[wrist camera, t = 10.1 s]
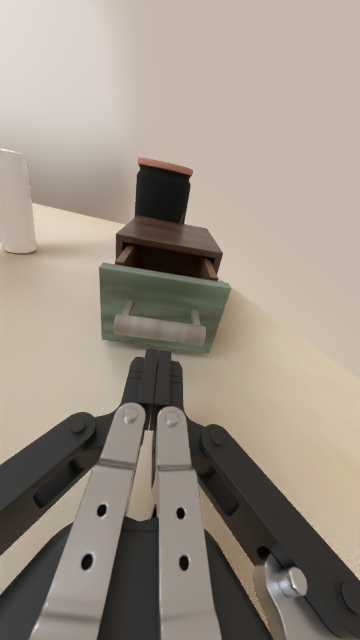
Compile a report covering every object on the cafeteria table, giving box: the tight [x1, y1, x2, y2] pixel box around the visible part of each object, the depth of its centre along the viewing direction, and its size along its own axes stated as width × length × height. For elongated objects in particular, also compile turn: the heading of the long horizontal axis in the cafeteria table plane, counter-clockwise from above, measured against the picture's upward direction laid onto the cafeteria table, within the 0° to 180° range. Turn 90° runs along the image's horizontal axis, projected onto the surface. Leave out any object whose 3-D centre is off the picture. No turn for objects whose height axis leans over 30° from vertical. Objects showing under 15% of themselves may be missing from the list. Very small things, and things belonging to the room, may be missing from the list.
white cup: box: [0, 148, 37, 253], centre depth 35 cm, size 7×7×15 cm
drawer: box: [99, 243, 231, 353], centre depth 24 cm, size 19×11×8 cm, turn 1°
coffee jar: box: [135, 158, 193, 224], centre depth 45 cm, size 11×11×18 cm
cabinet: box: [116, 215, 223, 275], centre depth 33 cm, size 16×13×10 cm
